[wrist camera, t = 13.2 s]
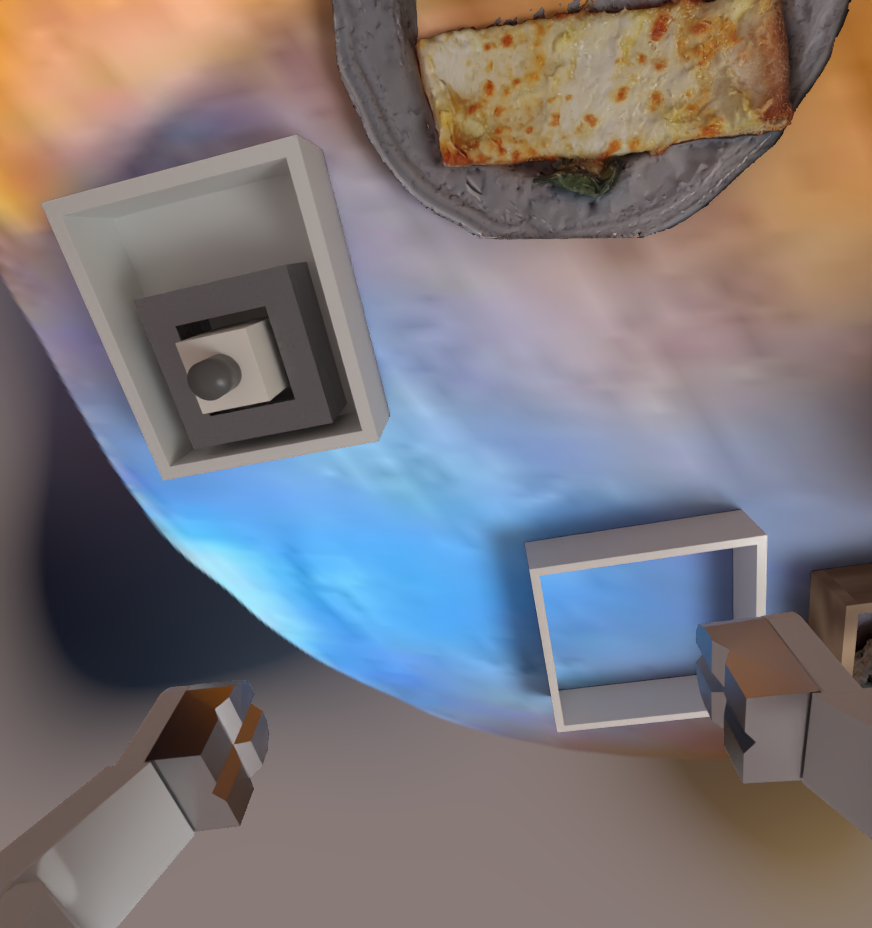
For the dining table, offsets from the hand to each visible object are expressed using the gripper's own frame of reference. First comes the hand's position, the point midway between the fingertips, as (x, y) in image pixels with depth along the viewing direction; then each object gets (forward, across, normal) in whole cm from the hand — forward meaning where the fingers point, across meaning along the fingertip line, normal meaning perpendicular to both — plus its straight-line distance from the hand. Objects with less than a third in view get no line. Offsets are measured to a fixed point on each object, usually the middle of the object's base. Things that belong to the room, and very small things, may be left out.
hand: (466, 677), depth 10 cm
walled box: (+27, +13, -4) cm, 30 cm away
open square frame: (+26, -10, +22) cm, 36 cm away
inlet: (+27, +13, -2) cm, 30 cm away
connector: (+27, +13, -2) cm, 30 cm away
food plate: (+28, -9, -16) cm, 34 cm away
